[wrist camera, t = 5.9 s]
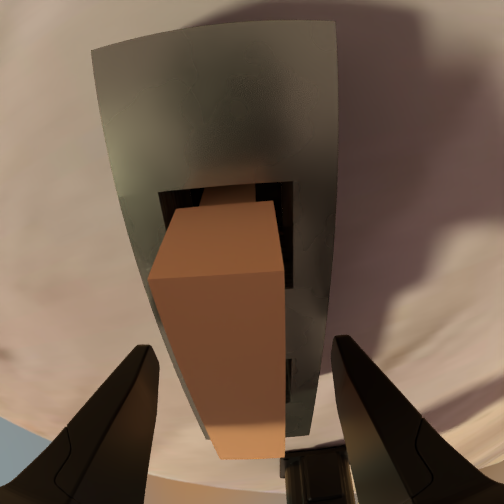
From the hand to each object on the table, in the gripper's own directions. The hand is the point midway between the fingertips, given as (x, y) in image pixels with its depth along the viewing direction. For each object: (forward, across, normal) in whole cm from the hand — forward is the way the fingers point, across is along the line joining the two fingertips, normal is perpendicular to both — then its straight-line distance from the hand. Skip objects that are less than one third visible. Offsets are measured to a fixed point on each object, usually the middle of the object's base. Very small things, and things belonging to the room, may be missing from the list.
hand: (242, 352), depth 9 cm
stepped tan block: (+4, 0, 0) cm, 4 cm away
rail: (+4, 0, 0) cm, 4 cm away
